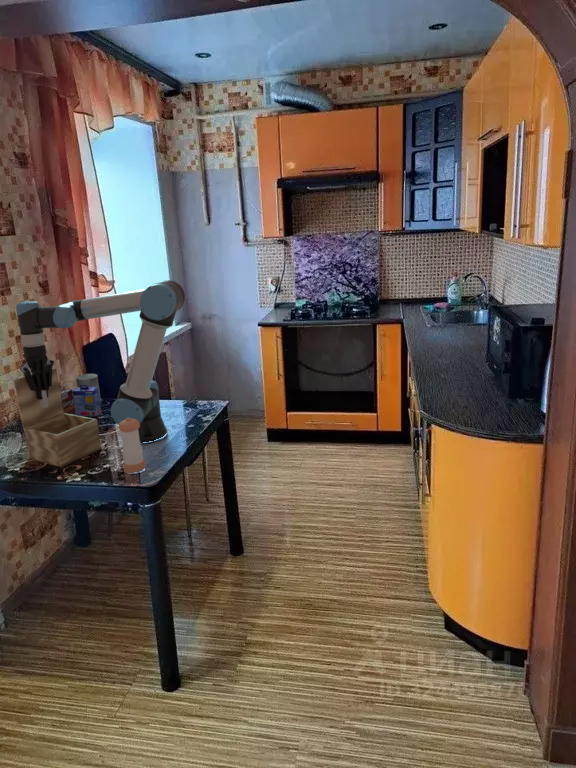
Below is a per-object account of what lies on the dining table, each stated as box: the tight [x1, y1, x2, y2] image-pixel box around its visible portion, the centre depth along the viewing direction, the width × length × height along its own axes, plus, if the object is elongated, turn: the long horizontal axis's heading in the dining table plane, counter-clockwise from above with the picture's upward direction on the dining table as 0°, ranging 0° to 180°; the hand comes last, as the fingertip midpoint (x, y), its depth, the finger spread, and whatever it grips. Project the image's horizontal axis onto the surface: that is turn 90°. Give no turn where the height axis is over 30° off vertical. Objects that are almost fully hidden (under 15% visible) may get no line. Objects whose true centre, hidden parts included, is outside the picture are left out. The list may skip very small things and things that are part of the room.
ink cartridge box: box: [72, 385, 102, 417], centre depth 249 cm, size 10×6×14 cm, turn 88°
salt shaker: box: [118, 418, 146, 473], centre depth 188 cm, size 7×7×19 cm
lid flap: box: [13, 367, 64, 428], centre depth 206 cm, size 18×18×1 cm
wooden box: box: [22, 413, 102, 468], centre depth 206 cm, size 18×18×12 cm
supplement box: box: [56, 388, 76, 416], centre depth 233 cm, size 9×5×16 cm, turn 168°
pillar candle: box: [75, 373, 102, 404], centre depth 264 cm, size 10×10×15 cm
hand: (44, 406), depth 206 cm, fingers closed
